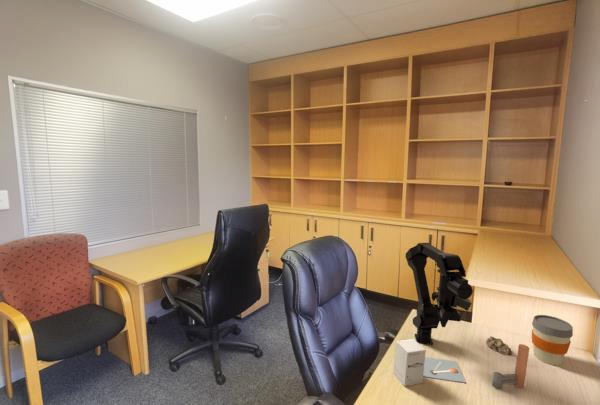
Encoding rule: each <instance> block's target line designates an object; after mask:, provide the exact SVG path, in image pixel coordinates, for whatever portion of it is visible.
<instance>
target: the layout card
mask: <svg viewBox="0 0 600 405" xmlns="http://www.w3.org/2000/svg"><path fill="white" fill-rule="evenodd" d="M423 378H428V379H433V380H434V379H435V380H442V381H449V382H455V383H460V384H461V383H462V384H466V383H467V382H466V380H465V378H464V375H463V373H462V370H461V369H460V366H459V364H458V362H457V360H452V359H451V360H450V359H442V358H434V357H429V356H425V362H424V373H423Z"/></svg>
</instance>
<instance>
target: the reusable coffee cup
mask: <svg viewBox="0 0 600 405" xmlns="http://www.w3.org/2000/svg"><path fill="white" fill-rule="evenodd" d="M531 325H532V329H531V343H532V345H533V346H532V348H533V349H532V350H533V356H534V357H535V358H536V359H537V360H538V361H541V362H542V363H544V364H547V365H551V366H561V365H562V363H563V360H564V359H565V355H566V354H568V351H569V349H570V345H571V341H572V340H571V338H572V337H573V336H574V335H573V334H574V327H573V325H571V323H569V322H568V321H565V320H564V319H561V318H558V317H555V316H552V315H545V314H537V315H534V316H533V319H532V321H531Z"/></svg>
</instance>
